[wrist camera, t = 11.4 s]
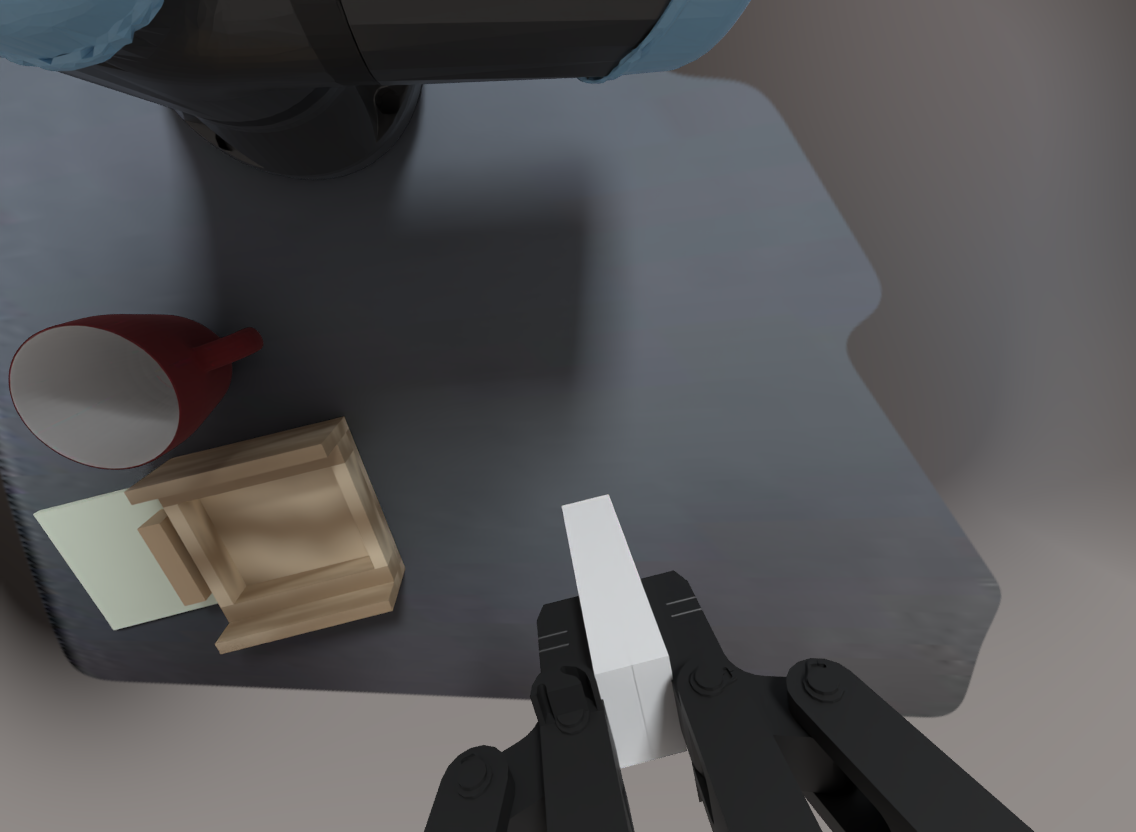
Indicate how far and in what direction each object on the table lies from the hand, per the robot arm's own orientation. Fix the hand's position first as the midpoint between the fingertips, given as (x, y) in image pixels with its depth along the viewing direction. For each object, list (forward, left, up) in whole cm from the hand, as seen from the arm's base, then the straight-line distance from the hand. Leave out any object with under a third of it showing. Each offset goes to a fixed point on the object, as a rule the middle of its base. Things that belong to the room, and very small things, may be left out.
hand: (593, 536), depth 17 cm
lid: (+8, -34, -25) cm, 43 cm away
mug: (-6, -22, -25) cm, 34 cm away
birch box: (+8, -22, -24) cm, 34 cm away
